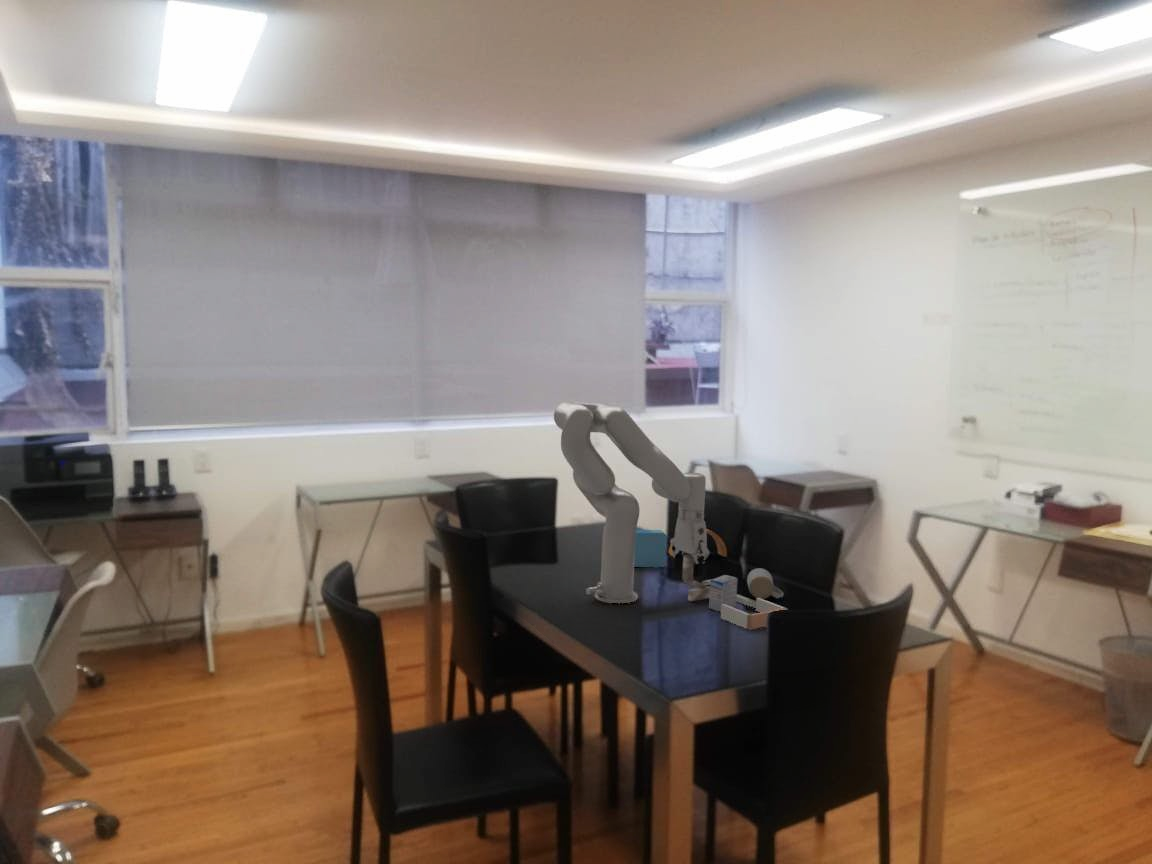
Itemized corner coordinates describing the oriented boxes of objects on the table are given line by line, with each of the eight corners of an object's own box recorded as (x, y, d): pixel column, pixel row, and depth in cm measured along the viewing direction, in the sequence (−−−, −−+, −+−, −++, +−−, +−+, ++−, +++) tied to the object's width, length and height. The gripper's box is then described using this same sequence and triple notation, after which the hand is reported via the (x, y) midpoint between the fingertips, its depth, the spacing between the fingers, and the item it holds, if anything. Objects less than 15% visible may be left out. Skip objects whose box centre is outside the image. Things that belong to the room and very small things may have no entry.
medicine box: (722, 603, 253) (724, 574, 252) (736, 607, 250) (738, 577, 249) (708, 609, 246) (710, 579, 246) (722, 613, 244) (724, 582, 243)
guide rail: (760, 611, 247) (760, 606, 246) (712, 592, 263) (713, 587, 263) (765, 610, 248) (766, 605, 248) (717, 591, 264) (718, 586, 264)
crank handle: (693, 602, 251) (695, 564, 250) (670, 592, 260) (672, 556, 258) (733, 595, 259) (736, 559, 258) (709, 586, 268) (711, 551, 267)
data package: (662, 564, 294) (664, 529, 292) (665, 568, 289) (667, 532, 288) (627, 564, 292) (628, 529, 291) (629, 568, 288) (631, 532, 286)
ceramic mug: (748, 599, 258) (750, 573, 257) (745, 591, 266) (747, 566, 265) (784, 602, 257) (786, 577, 256) (781, 594, 265) (783, 569, 264)
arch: (727, 557, 308) (728, 529, 307) (674, 559, 303) (675, 530, 302) (719, 553, 314) (721, 525, 313) (668, 554, 308) (669, 527, 307)
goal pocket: (749, 630, 229) (750, 615, 229) (720, 618, 238) (721, 604, 238) (787, 623, 237) (788, 608, 236) (758, 611, 246) (758, 597, 246)
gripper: (720, 519, 253) (717, 578, 255) (681, 508, 268) (679, 564, 270) (700, 521, 249) (697, 581, 251) (662, 510, 264) (659, 567, 266)
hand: (687, 572), depth 260 cm, fingers open, 8 cm apart
